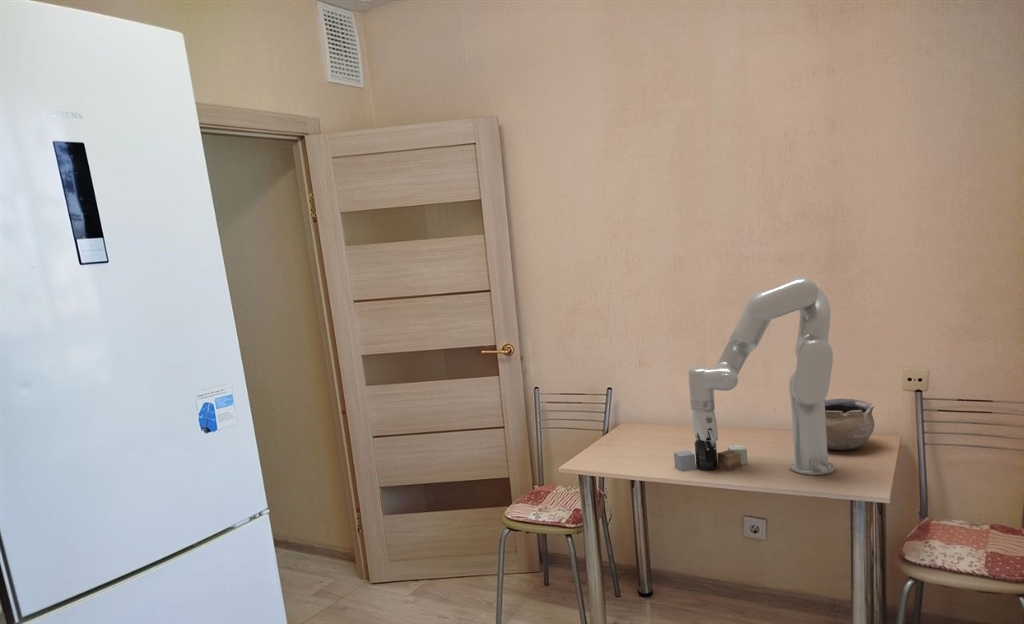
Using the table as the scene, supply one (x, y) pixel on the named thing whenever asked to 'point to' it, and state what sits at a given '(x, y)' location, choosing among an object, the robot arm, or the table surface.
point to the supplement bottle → (703, 456)
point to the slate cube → (684, 460)
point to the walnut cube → (729, 460)
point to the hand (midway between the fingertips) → (706, 458)
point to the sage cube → (741, 450)
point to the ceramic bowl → (848, 423)
